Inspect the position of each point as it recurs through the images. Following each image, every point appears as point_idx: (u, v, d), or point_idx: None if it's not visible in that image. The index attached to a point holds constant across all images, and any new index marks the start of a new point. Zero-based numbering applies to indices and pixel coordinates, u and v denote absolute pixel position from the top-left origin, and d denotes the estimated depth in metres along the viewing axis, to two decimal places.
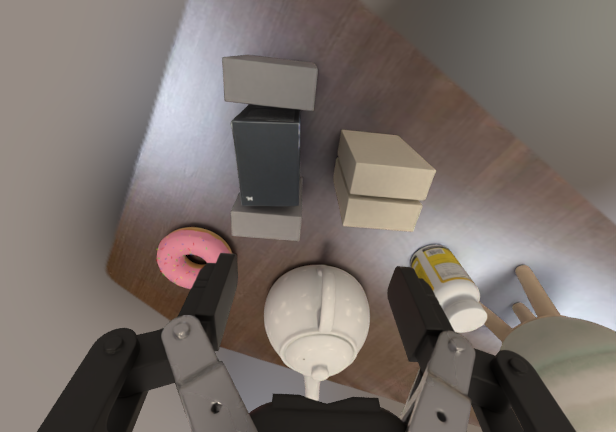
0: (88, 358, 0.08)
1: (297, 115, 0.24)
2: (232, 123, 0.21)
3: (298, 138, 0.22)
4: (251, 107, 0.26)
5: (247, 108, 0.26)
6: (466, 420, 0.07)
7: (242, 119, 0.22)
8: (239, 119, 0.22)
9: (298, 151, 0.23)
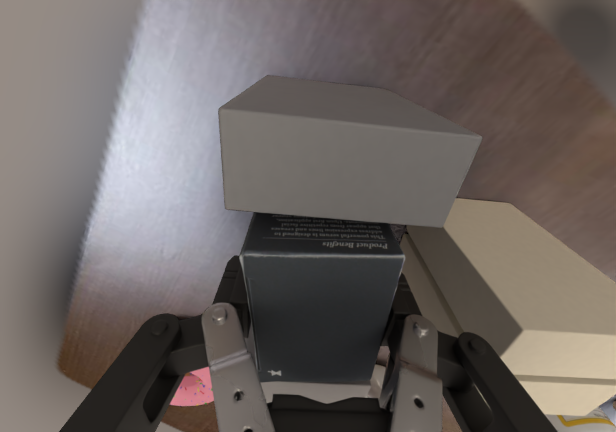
0: (137, 336, 0.09)
1: None
2: (243, 258, 0.09)
3: (396, 282, 0.09)
4: None
5: None
6: (440, 400, 0.07)
7: (267, 244, 0.09)
8: (260, 244, 0.09)
9: (390, 303, 0.10)
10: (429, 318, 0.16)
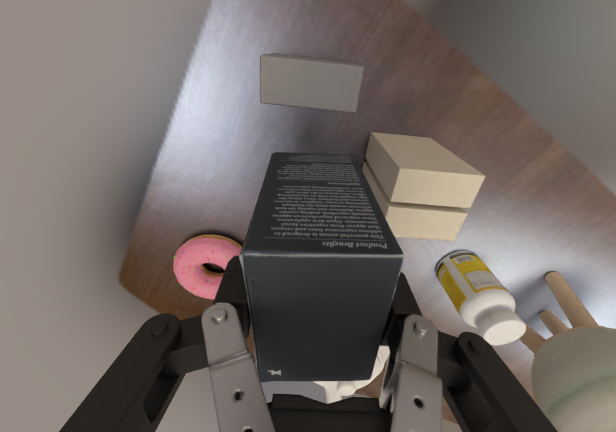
0: (137, 336, 0.09)
1: (378, 211, 0.11)
2: (243, 258, 0.09)
3: (396, 282, 0.09)
4: (276, 178, 0.14)
5: (269, 183, 0.13)
6: (440, 400, 0.07)
7: (267, 243, 0.09)
8: (260, 244, 0.09)
9: (390, 303, 0.10)
10: None
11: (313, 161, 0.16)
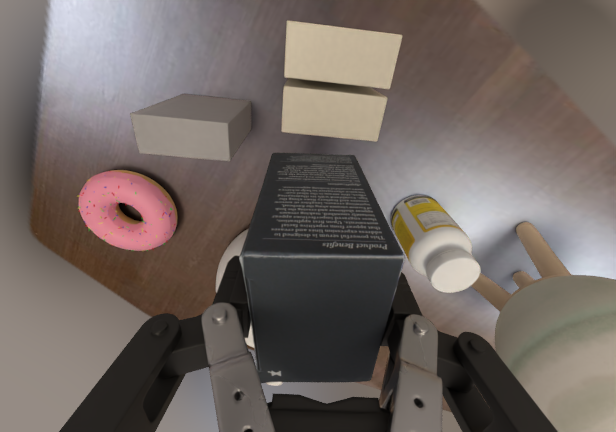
0: (137, 336, 0.09)
1: (379, 212, 0.11)
2: (243, 259, 0.09)
3: (396, 283, 0.09)
4: (276, 179, 0.14)
5: (269, 183, 0.13)
6: (440, 400, 0.07)
7: (267, 244, 0.09)
8: (260, 245, 0.09)
9: (390, 304, 0.10)
10: None
11: (313, 161, 0.16)
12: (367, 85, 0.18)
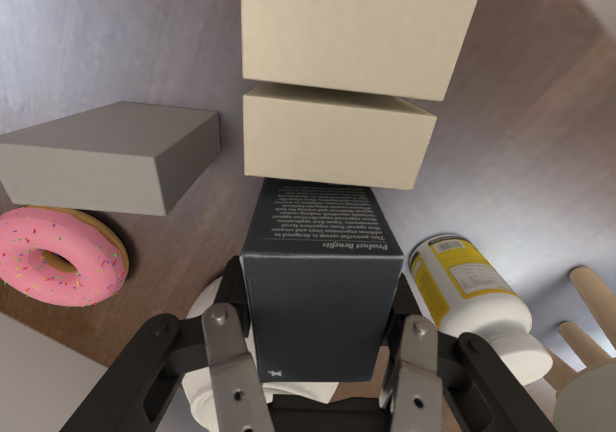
0: (137, 336, 0.09)
1: (379, 212, 0.11)
2: (243, 259, 0.09)
3: (396, 283, 0.09)
4: (276, 179, 0.14)
5: (269, 183, 0.13)
6: (440, 400, 0.07)
7: (267, 245, 0.09)
8: (260, 245, 0.09)
9: (390, 304, 0.10)
10: None
11: None
12: (401, 94, 0.09)
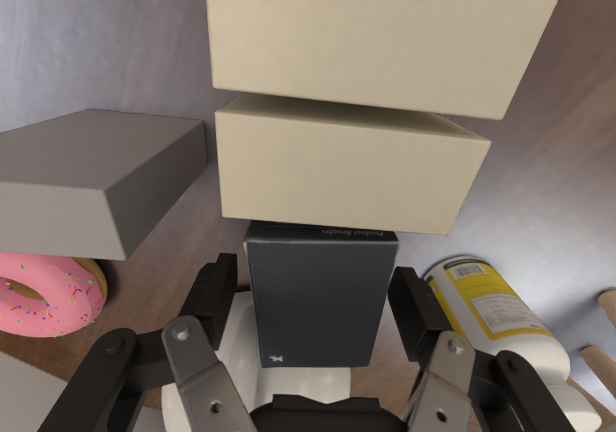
0: (88, 358, 0.08)
1: None
2: (247, 245, 0.09)
3: (392, 268, 0.10)
4: None
5: None
6: (466, 420, 0.07)
7: (269, 231, 0.10)
8: (262, 232, 0.09)
9: (386, 289, 0.11)
10: None
11: None
12: (444, 110, 0.06)
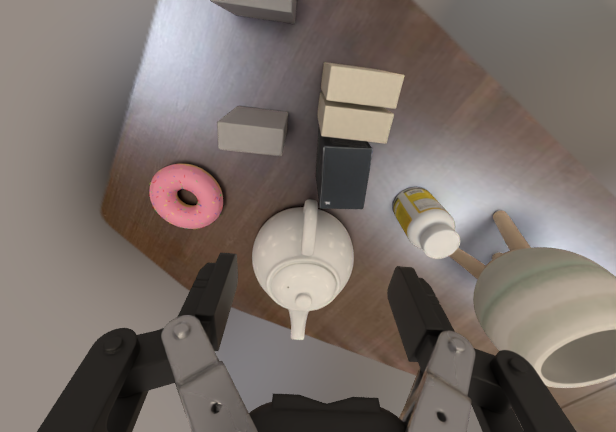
0: (88, 358, 0.08)
1: (366, 141, 0.32)
2: (324, 148, 0.29)
3: (370, 159, 0.30)
4: None
5: None
6: (466, 420, 0.07)
7: (331, 145, 0.30)
8: (329, 145, 0.29)
9: (369, 168, 0.31)
10: (320, 114, 0.31)
11: None
12: (381, 106, 0.26)
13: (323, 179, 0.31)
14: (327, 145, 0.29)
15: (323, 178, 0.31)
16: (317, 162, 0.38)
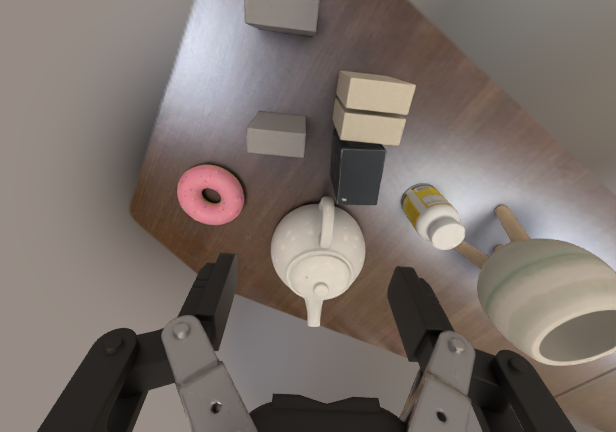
0: (88, 358, 0.08)
1: None
2: (342, 150, 0.32)
3: (384, 159, 0.33)
4: None
5: None
6: (466, 420, 0.07)
7: (348, 147, 0.33)
8: (346, 147, 0.33)
9: (382, 168, 0.34)
10: (338, 119, 0.34)
11: None
12: (394, 112, 0.30)
13: (341, 178, 0.34)
14: (345, 147, 0.33)
15: (341, 177, 0.34)
16: (332, 162, 0.41)
